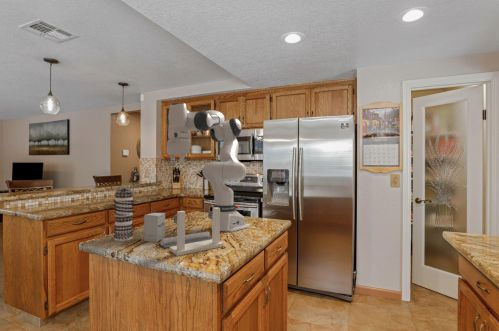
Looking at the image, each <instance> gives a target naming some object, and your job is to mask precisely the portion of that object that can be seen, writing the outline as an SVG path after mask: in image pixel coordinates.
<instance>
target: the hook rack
mask: <svg viewBox="0 0 499 331" xmlns="http://www.w3.org/2000/svg"><path fill="white" fill-rule="evenodd" d="M176 212H177V214H175V215H173V223H174V224H176V236H177V246H172V247H170V248H169V251H170V252H172V253H173V254H174V255H175V256H178V257H179V256H183V255H187V254H188V255H189V254H193V253H198V252H203V251H208V250H213V249H217V248H223V247H224V242H222V241H220V240H221V239H220V238H221V237H220V236H221V235H220V234H221V231H220V208H218V207H216V208H214V207H212V211H208V213H207V214H208V219H210V220H212V221H211V222H212V224H211V227H212V229H211V232H212V234H211V235H212V236H211V238H212V239H210V240H205V241H199V242H194V243H188V244H185V235H186V211H185V210H180V211H176Z"/></svg>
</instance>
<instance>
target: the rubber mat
mask: <svg viewBox="0 0 499 331" xmlns="http://www.w3.org/2000/svg"><path fill="white" fill-rule="evenodd" d="M210 239H212V236H210V237H207V238H202V239H196V240H190V241H185V244H188V243H194V242H199V241H205V240H210ZM158 245H159V246H160V247H161V248H163V249H164V250H167V249H170V247H172V246H177V243H173V244H168V245H161V241H160V242H159V241H158Z"/></svg>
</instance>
